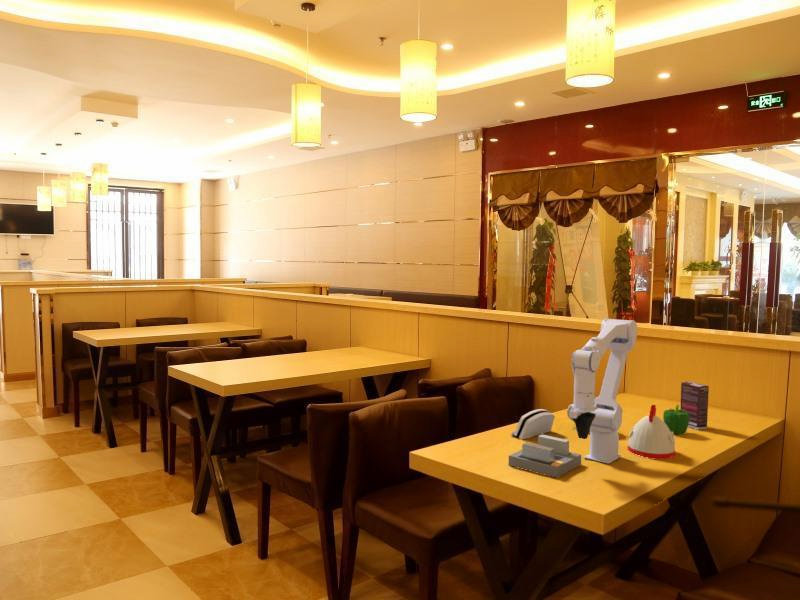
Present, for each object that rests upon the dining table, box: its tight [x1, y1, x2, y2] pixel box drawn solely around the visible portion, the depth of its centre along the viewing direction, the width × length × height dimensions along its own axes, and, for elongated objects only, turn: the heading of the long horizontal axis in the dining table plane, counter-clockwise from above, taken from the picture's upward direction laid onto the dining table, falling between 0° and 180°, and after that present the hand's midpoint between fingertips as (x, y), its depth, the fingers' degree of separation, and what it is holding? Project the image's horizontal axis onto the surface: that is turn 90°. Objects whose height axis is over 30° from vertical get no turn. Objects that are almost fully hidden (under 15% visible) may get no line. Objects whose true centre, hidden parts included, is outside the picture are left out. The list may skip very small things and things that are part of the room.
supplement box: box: [679, 381, 710, 431], centre depth 227 cm, size 9×5×16 cm, turn 22°
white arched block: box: [510, 408, 555, 440], centre depth 215 cm, size 17×5×10 cm, turn 130°
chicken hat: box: [627, 404, 676, 460], centre depth 197 cm, size 14×14×15 cm
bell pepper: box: [662, 403, 689, 435], centre depth 218 cm, size 8×8×10 cm
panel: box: [521, 441, 555, 465], centre depth 179 cm, size 2×9×7 cm, turn 49°
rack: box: [508, 434, 582, 479], centre depth 183 cm, size 16×16×7 cm
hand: (582, 438), depth 179 cm, fingers closed
